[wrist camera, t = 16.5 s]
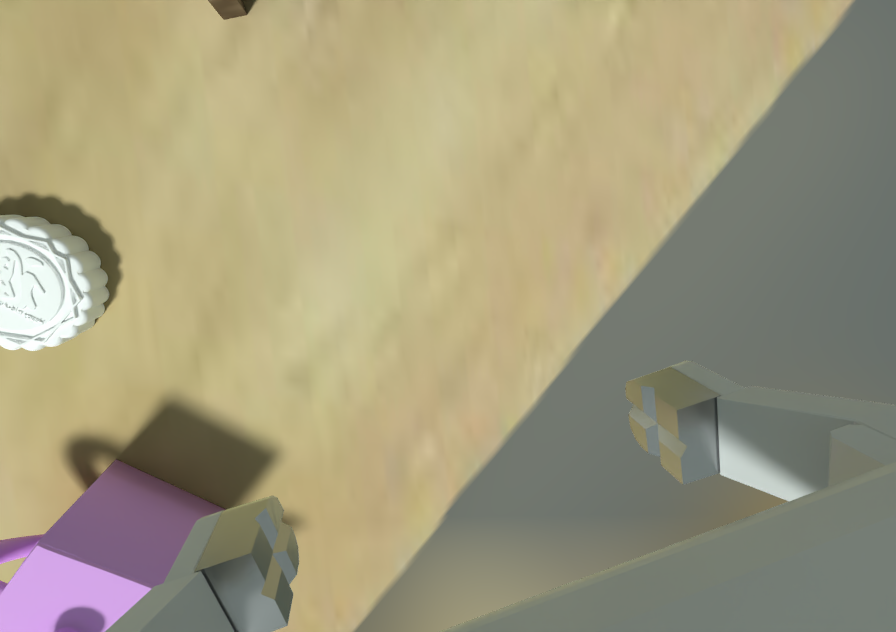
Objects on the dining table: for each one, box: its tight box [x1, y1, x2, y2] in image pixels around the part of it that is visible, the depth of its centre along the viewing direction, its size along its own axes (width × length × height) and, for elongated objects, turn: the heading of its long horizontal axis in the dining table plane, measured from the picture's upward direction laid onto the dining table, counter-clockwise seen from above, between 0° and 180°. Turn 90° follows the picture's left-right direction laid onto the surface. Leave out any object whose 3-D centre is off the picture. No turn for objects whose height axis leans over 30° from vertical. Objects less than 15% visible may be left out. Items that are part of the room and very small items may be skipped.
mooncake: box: [0, 215, 109, 351], centre depth 38 cm, size 12×12×4 cm
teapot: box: [0, 459, 226, 632], centre depth 42 cm, size 15×25×14 cm, turn 51°
